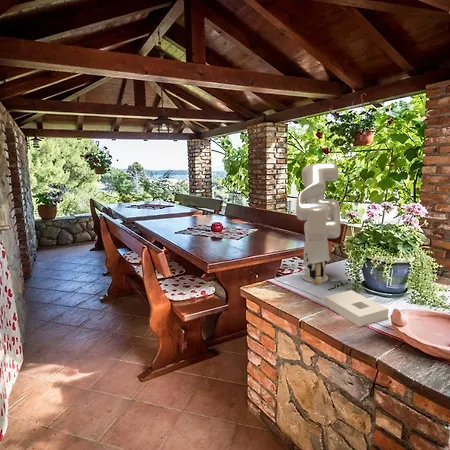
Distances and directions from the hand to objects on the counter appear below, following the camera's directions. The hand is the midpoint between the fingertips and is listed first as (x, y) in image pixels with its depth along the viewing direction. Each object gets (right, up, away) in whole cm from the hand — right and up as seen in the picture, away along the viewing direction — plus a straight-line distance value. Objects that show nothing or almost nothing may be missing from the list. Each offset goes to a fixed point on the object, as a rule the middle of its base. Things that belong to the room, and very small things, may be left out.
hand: (316, 276), depth 139 cm
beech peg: (0, -3, +1) cm, 3 cm away
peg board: (+14, -13, -7) cm, 20 cm away
